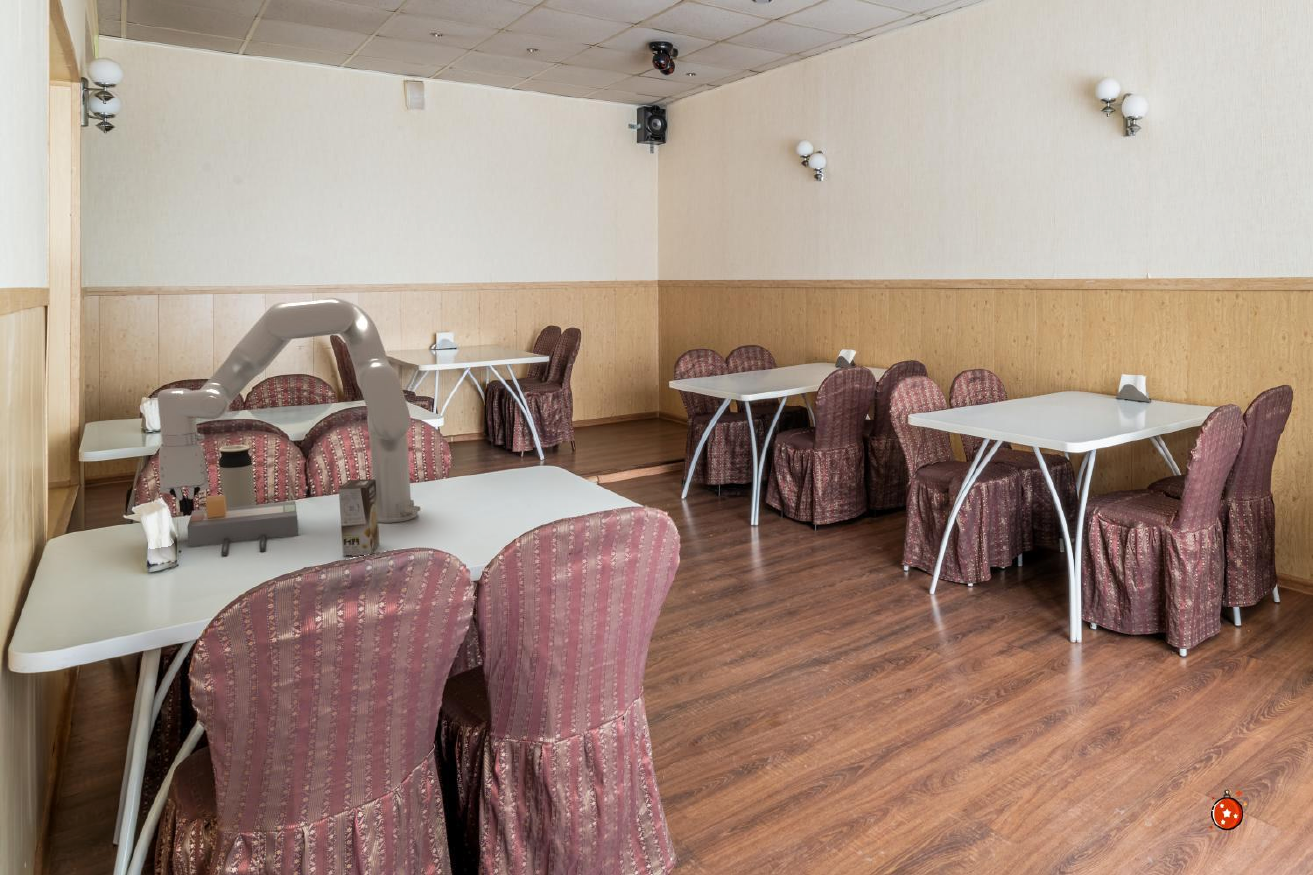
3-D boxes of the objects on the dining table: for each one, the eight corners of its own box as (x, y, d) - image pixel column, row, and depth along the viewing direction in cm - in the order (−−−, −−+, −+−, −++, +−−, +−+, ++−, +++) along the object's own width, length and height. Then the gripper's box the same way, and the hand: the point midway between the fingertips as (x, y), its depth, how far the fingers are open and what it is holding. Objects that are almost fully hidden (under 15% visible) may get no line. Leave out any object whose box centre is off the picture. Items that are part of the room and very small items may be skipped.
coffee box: (371, 556, 201) (366, 487, 198) (342, 556, 200) (337, 488, 197) (380, 544, 210) (376, 478, 207) (352, 544, 209) (348, 479, 206)
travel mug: (240, 517, 234) (234, 451, 231) (217, 514, 236) (210, 449, 233) (262, 509, 241) (257, 445, 238) (239, 507, 244) (233, 443, 240)
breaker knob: (226, 510, 220) (225, 494, 219) (225, 516, 214) (223, 500, 214) (208, 511, 218) (207, 496, 217) (207, 517, 213) (205, 501, 212)
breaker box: (296, 519, 231) (295, 500, 231) (300, 547, 207) (298, 526, 206) (194, 529, 222) (192, 510, 221) (185, 561, 197) (182, 539, 196)
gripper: (215, 435, 217) (222, 507, 220) (146, 440, 211) (154, 514, 214) (213, 440, 210) (220, 514, 213) (142, 445, 204) (150, 521, 207)
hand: (187, 514), depth 214 cm, fingers closed
